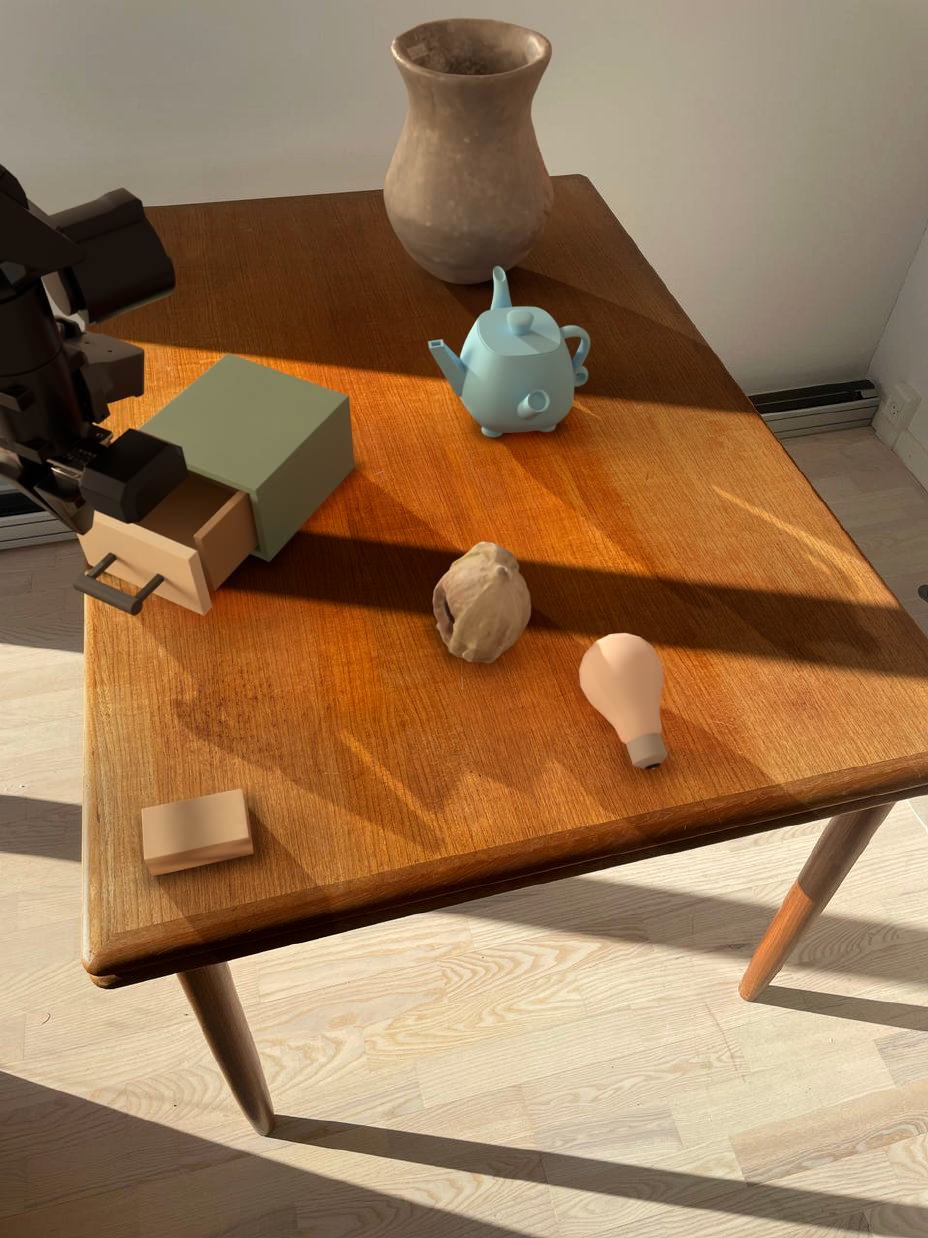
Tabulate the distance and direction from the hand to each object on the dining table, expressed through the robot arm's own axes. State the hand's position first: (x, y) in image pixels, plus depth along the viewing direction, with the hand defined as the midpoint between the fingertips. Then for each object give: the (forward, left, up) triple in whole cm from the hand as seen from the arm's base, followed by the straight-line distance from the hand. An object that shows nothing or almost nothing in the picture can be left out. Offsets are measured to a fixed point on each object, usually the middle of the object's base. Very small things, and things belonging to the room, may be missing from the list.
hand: (84, 530), depth 71 cm
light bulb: (+38, -18, -12) cm, 43 cm away
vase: (+43, +49, -12) cm, 66 cm away
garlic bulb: (+29, -8, -12) cm, 32 cm away
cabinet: (+13, +15, -12) cm, 23 cm away
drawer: (+5, +7, -11) cm, 14 cm away
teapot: (+40, +21, -12) cm, 47 cm away
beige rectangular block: (+5, -21, -12) cm, 24 cm away
